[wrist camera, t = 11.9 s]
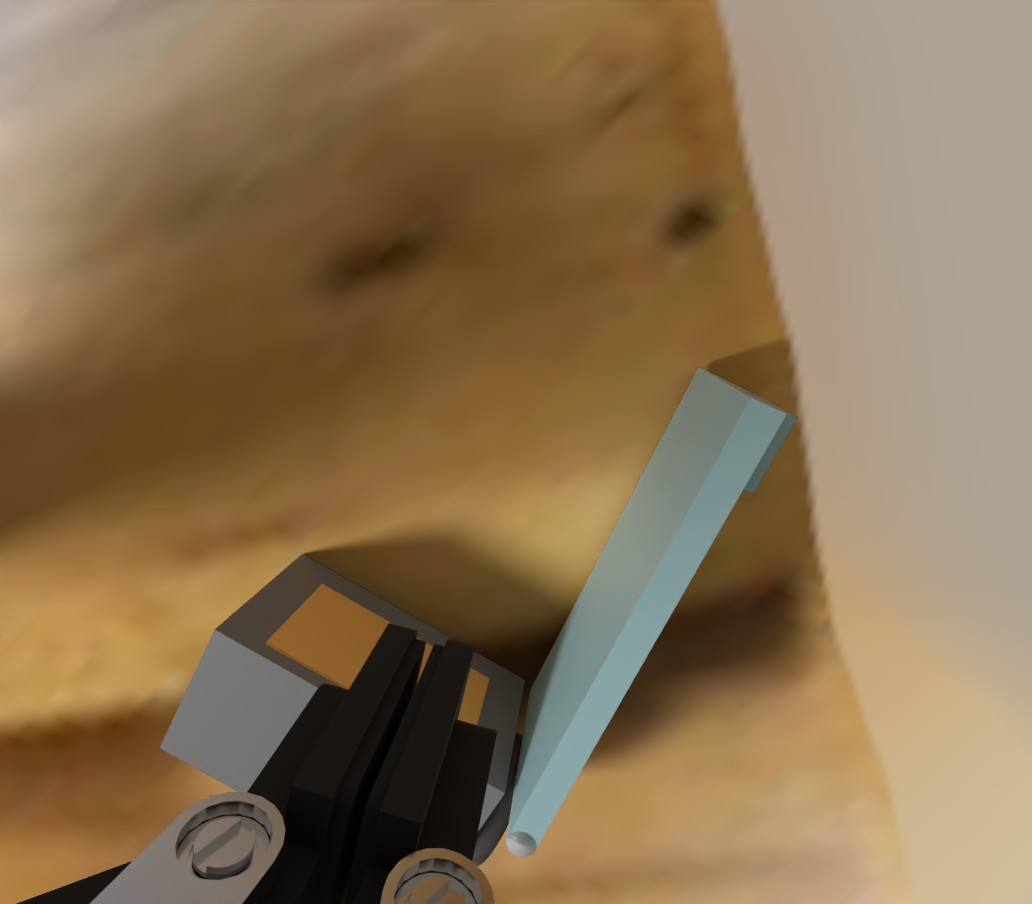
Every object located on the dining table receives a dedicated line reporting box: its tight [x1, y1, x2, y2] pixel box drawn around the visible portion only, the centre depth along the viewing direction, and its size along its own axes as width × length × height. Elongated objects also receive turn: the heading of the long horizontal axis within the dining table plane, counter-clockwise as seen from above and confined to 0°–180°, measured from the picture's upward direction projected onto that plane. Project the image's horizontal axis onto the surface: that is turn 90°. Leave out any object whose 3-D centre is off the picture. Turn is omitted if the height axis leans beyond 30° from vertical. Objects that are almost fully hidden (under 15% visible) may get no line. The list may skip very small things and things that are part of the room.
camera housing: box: [160, 554, 525, 866], centre depth 30 cm, size 15×7×8 cm, turn 61°
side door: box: [506, 367, 798, 857], centre depth 26 cm, size 20×2×10 cm, turn 156°
